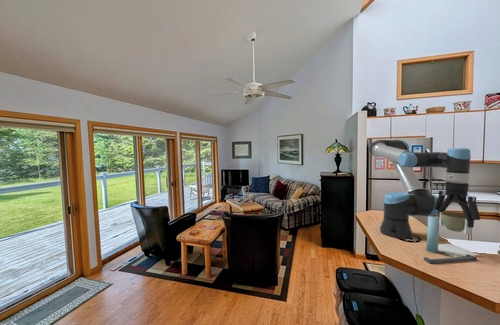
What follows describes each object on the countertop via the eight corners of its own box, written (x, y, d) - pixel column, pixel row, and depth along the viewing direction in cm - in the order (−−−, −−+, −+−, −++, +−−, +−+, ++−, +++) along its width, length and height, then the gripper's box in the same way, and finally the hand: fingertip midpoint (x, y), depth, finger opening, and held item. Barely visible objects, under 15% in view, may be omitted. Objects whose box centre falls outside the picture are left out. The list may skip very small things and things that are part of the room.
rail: (423, 260, 89) (423, 257, 89) (468, 256, 92) (468, 254, 92) (430, 263, 86) (430, 261, 86) (476, 260, 89) (476, 257, 89)
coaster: (429, 246, 103) (429, 244, 103) (450, 244, 104) (450, 243, 104) (456, 258, 91) (456, 256, 91) (479, 256, 92) (479, 255, 92)
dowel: (424, 249, 99) (425, 216, 98) (431, 248, 100) (432, 216, 99) (432, 253, 95) (434, 219, 94) (440, 252, 96) (441, 218, 95)
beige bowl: (434, 225, 102) (434, 211, 102) (455, 225, 102) (455, 211, 101) (453, 234, 92) (454, 218, 92) (476, 234, 92) (477, 218, 91)
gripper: (426, 178, 106) (424, 221, 108) (480, 186, 84) (476, 240, 85) (438, 178, 107) (436, 220, 109) (495, 185, 85) (492, 239, 86)
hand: (454, 229), depth 97 cm, fingers closed on beige bowl, 10 cm apart
